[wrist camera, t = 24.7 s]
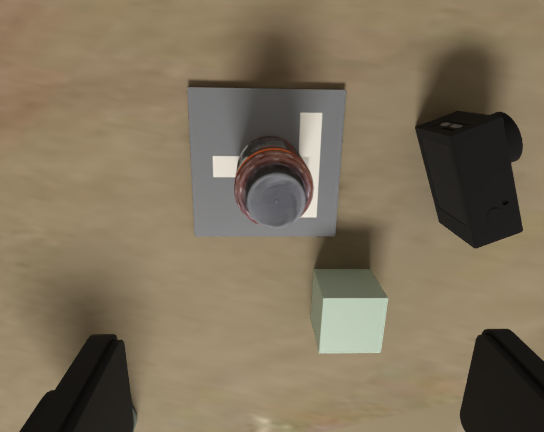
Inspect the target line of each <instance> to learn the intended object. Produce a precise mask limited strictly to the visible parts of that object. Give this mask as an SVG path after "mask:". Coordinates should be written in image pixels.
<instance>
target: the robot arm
mask: <svg viewBox="0 0 544 432" xmlns="http://www.w3.org/2000/svg"><path fill="white" fill-rule="evenodd" d="M460 419H461V424H462V426H463V428H464V430H465V432H544V361H543V360H542V359H541V358H540V357H539V356H537V355H536V354H535V353H534V352H533V351H532V350H531V349H530V348H529V347H528V346H527V345H526V344H525V343H524V342H523V341H522V340H521V339H520V338H519V337H517V336H516V335H515V334H514V333H513V332H512V331H511V330H509V329H486V330H484V331H483V332H482V334H481V335H478V336H477V338H476V342H475V346H474V351H473V356H472V360H471V365H470V369H469V374H468V378H467V383H466V388H465V392H464V397H463V401H462V406H461V410H460ZM133 429H134V418H133V410H132V402H131V394H130V386H129V378H128V370H127V362H126V354H125V346H124V342H123V340H117V337H116V335H114V334H100V335H91V336H90V337H89V338H88V340H87V341H86V343H85V344H84V346H83V347H82V349H81V350H80V352H79V353H78V355H77V357H76V358H75V360H74V361H73V363H72V364H71V366H70V367H69V369H68V370H67V372H66V374H65V375H64V377H63V378H62V380H61V381H60V383H59V384H58V386H57V387H56V389H55V390H51V391H49V392H47V393H46V394H45V395H44V396H43V398H42V399H41V400H40V402H39V403H38V405H37V406H36V408H35V409H34V411H33V412H32V414H31V415H30V417H29V418H28V420H27V421H26V423H25V424H24V426H23V427H22V429H21V430H20V432H133Z"/></svg>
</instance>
